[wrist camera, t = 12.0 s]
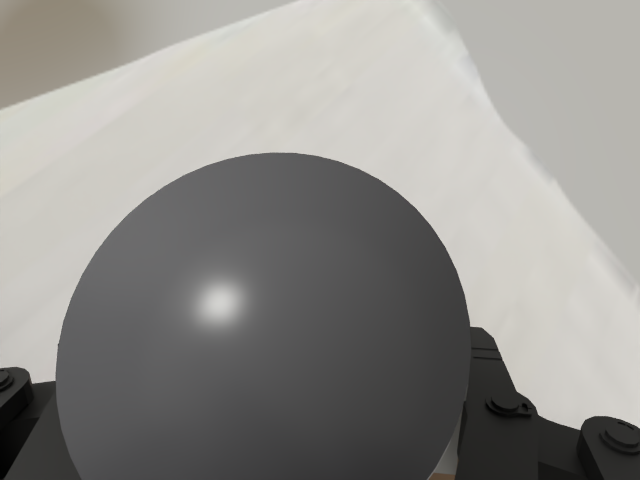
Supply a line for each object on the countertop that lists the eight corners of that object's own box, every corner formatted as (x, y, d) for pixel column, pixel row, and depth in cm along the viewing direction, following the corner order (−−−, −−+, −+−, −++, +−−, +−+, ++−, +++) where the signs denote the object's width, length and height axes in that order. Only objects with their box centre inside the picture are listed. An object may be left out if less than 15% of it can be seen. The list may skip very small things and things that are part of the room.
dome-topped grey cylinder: (234, 379, 20) (11, 254, 7) (354, 311, 21) (337, 95, 8) (297, 523, 17) (122, 709, 5) (431, 439, 18) (581, 410, 6)
